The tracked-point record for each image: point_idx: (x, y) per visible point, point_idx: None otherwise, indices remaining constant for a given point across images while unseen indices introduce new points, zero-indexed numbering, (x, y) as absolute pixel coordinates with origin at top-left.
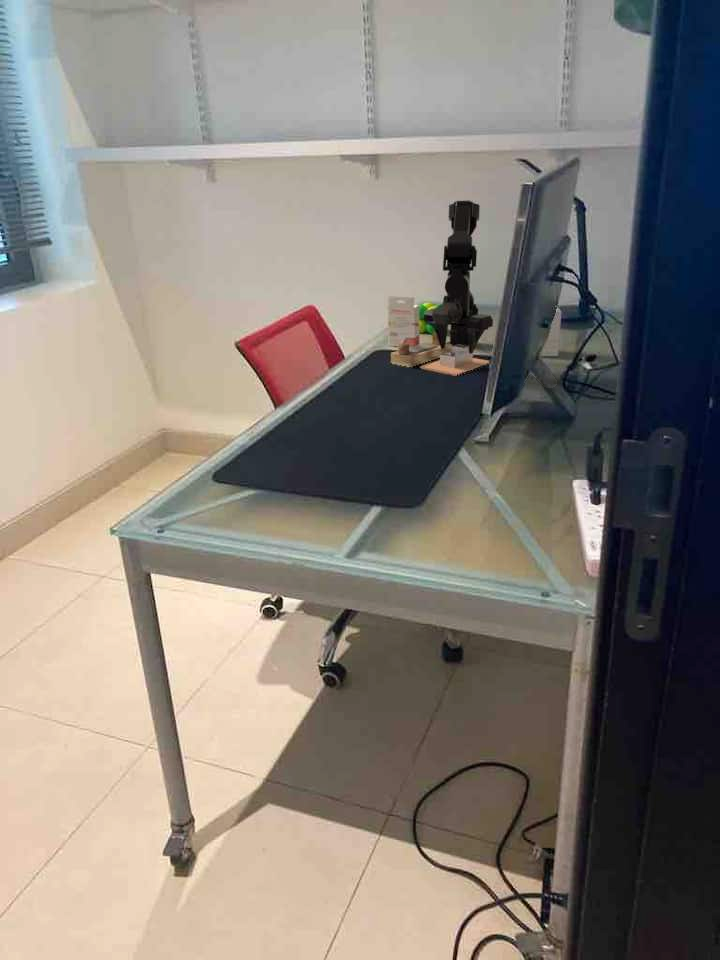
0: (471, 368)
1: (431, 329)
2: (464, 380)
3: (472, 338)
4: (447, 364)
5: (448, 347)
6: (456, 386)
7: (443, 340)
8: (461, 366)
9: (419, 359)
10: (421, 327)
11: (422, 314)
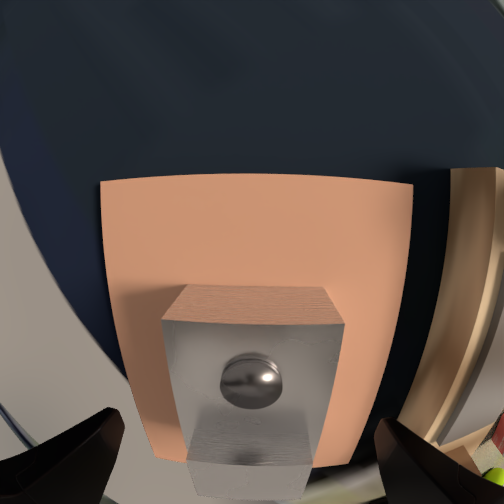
0: (119, 337)
1: None
2: (47, 151)
3: (11, 462)
4: (251, 293)
5: None
6: (42, 63)
7: (397, 471)
8: None
9: (464, 261)
10: (492, 479)
11: None
